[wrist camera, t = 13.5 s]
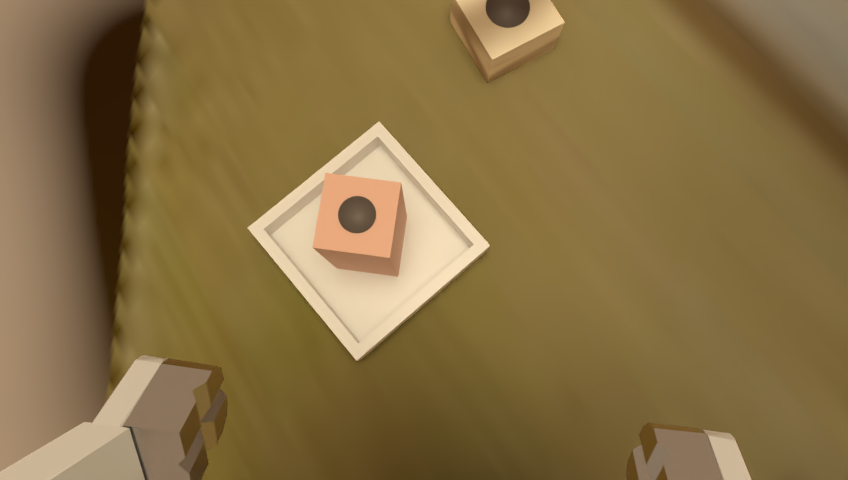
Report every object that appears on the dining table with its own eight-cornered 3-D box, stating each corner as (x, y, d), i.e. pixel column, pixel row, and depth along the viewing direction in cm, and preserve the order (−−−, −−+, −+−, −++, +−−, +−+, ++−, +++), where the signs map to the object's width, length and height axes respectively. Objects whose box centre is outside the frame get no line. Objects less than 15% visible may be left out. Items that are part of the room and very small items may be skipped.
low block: (553, 49, 47) (564, 21, 43) (487, 84, 46) (492, 59, 42) (515, -11, 48) (522, -44, 44) (449, 22, 47) (451, -8, 43)
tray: (486, 251, 44) (490, 245, 41) (361, 360, 43) (356, 360, 40) (382, 134, 46) (379, 121, 43) (258, 234, 44) (247, 227, 42)
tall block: (398, 276, 43) (389, 257, 34) (336, 268, 43) (312, 247, 34) (407, 216, 44) (401, 182, 35) (346, 208, 44) (325, 172, 35)
